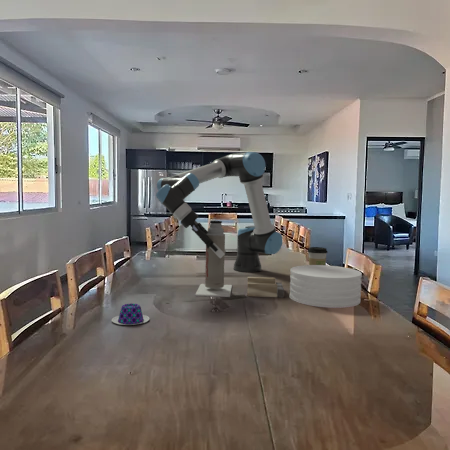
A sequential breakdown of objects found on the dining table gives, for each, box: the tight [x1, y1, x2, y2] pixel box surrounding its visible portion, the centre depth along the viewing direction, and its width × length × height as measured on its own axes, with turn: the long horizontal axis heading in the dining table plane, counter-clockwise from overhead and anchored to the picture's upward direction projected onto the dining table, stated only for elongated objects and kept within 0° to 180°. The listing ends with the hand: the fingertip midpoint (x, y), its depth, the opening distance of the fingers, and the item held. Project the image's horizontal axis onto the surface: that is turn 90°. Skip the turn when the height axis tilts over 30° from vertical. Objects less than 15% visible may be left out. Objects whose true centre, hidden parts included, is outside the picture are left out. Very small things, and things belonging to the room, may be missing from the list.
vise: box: [246, 276, 285, 298], centre depth 180 cm, size 15×15×5 cm
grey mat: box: [195, 283, 233, 298], centre depth 181 cm, size 20×14×1 cm
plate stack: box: [289, 264, 363, 309], centre depth 172 cm, size 28×28×12 cm
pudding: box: [111, 302, 150, 326], centre depth 137 cm, size 12×12×5 cm
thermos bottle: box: [204, 220, 226, 288], centre depth 180 cm, size 8×8×28 cm
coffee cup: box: [307, 246, 329, 265], centre depth 215 cm, size 10×10×15 cm
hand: (223, 254), depth 180 cm, fingers closed on thermos bottle, 8 cm apart
